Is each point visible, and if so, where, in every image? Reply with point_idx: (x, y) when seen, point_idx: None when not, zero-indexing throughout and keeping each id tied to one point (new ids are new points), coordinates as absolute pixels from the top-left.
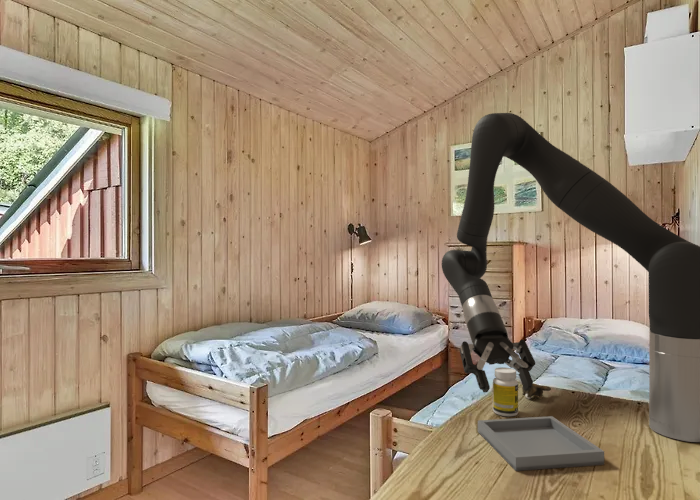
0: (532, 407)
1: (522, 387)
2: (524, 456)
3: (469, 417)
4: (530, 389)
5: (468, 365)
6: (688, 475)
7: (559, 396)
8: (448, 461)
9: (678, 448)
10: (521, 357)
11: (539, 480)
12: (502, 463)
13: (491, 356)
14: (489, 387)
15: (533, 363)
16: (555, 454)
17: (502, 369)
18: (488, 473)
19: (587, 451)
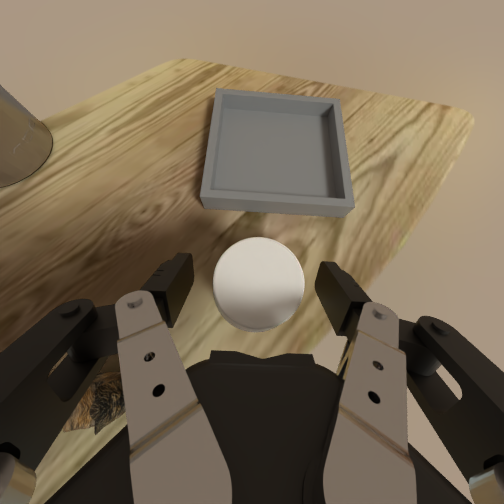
0: None
1: (125, 409)
2: (327, 98)
3: None
4: (118, 375)
5: (445, 325)
6: (145, 76)
7: None
8: (406, 149)
9: (78, 117)
10: (53, 428)
11: None
12: None
13: (319, 374)
14: (322, 262)
15: (75, 303)
16: (285, 94)
17: (268, 290)
18: (364, 119)
19: (238, 92)
